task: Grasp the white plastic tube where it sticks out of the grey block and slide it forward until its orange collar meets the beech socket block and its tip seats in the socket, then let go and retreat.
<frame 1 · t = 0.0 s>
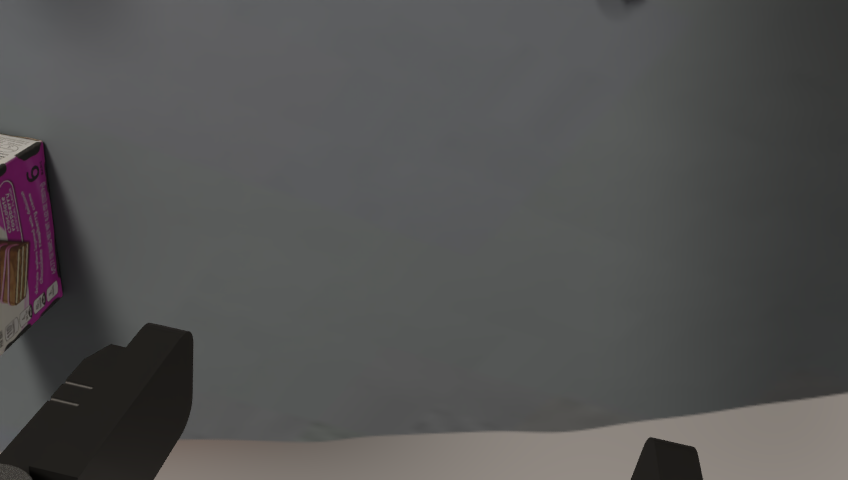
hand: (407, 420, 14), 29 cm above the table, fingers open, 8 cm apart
candy bar box: (24, 212, 50), on the table
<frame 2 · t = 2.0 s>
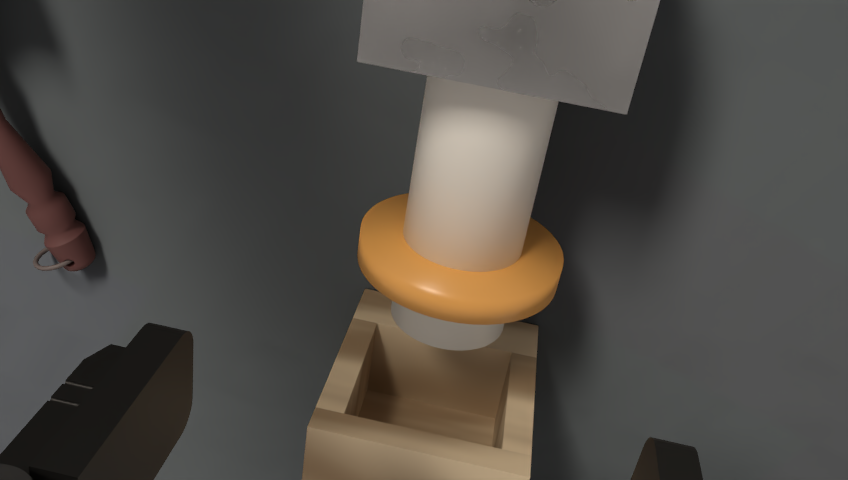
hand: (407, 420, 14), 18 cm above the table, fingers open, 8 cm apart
tube: (498, 59, 24), point 5 cm above the table, slide at 0.0 cm
socket: (442, 349, 35), on the table
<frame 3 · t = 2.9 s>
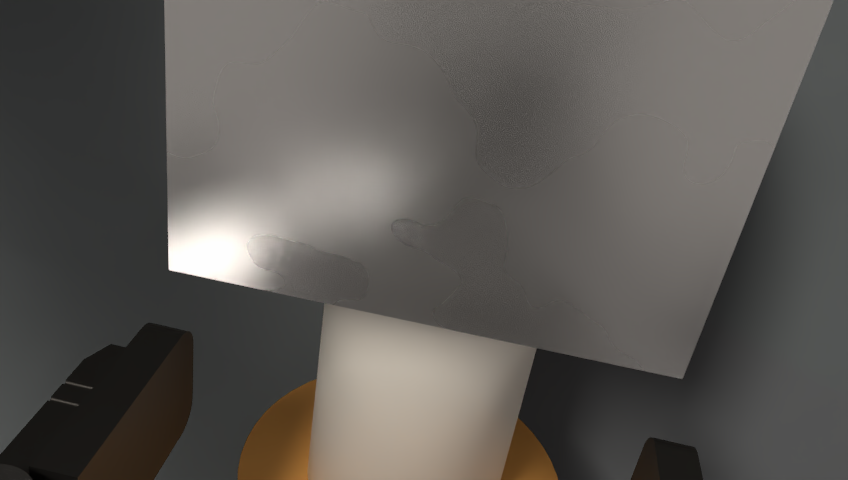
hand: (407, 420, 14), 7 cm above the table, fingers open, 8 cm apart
tube: (450, 219, 14), point 5 cm above the table, slide at 0.0 cm
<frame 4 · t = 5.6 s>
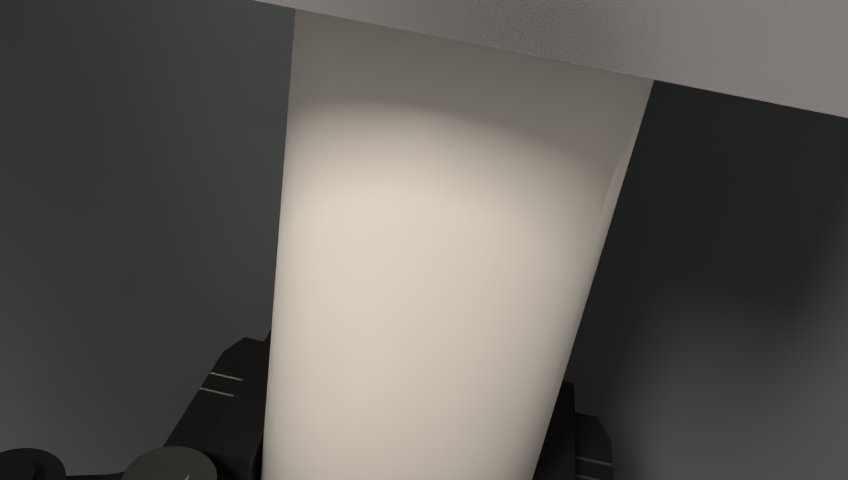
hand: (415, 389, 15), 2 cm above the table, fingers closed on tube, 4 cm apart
tube: (416, 351, 11), point 5 cm above the table, slide at 5.0 cm, touching gripper
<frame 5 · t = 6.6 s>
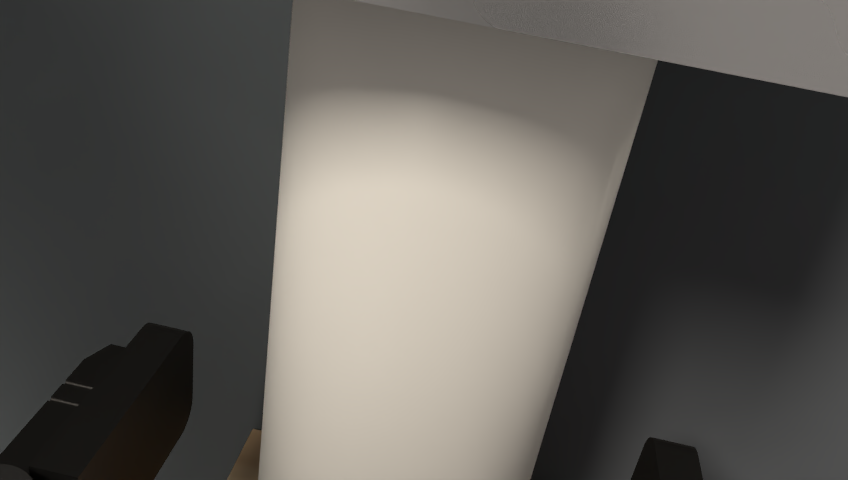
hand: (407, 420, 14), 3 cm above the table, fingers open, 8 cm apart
tube: (416, 342, 11), point 5 cm above the table, slide at 5.0 cm
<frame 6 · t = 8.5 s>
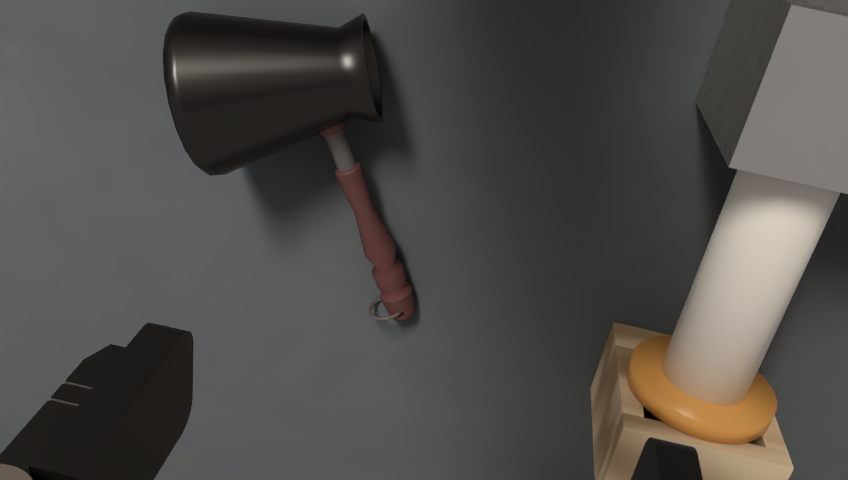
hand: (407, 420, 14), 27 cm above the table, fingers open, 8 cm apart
grey block: (796, 55, 36), on the table
tube: (751, 266, 35), point 5 cm above the table, slide at 5.0 cm
coffee pot 2: (324, 162, 42), on the table
socket: (669, 371, 44), on the table
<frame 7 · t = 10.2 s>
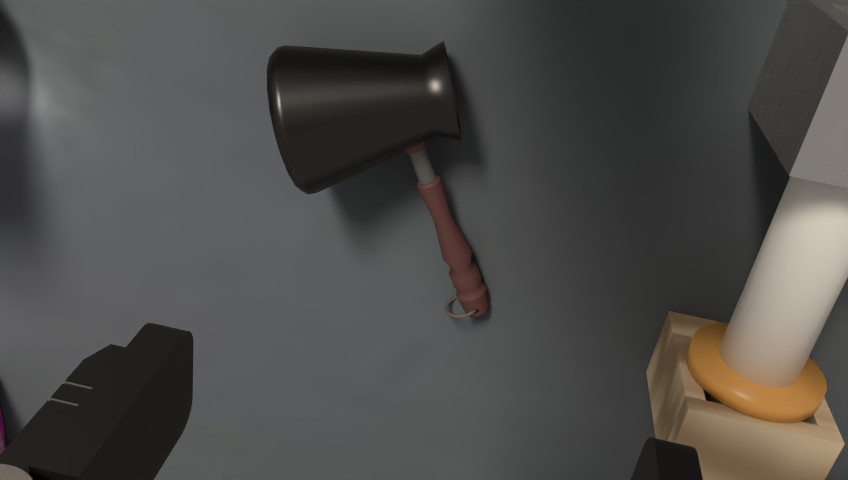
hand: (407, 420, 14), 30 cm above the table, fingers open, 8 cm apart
grey block: (843, 64, 39), on the table
tube: (803, 261, 38), point 5 cm above the table, slide at 5.0 cm
coffee pot 2: (402, 175, 46), on the table
socket: (720, 355, 47), on the table
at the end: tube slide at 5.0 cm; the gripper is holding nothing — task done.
